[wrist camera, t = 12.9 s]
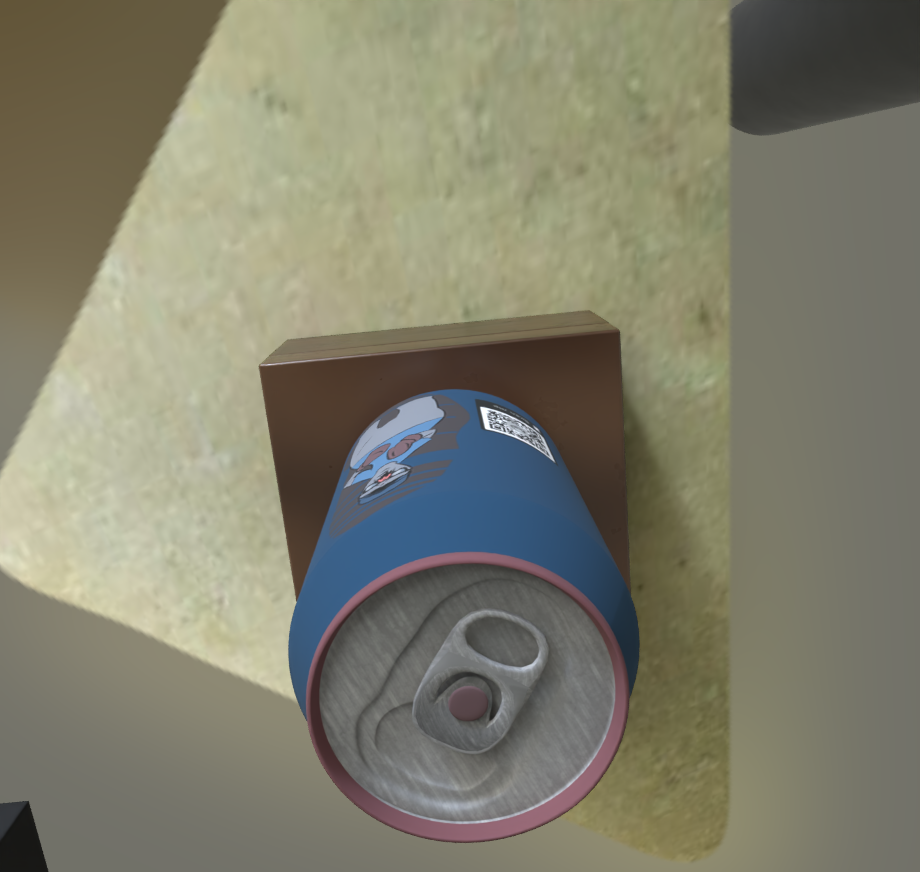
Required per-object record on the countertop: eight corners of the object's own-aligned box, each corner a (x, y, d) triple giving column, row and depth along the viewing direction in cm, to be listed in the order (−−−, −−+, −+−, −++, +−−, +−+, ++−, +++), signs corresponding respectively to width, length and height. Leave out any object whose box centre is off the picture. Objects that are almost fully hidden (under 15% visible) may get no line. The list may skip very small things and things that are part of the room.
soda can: (498, 621, 27) (544, 923, 16) (306, 532, 26) (206, 786, 15) (602, 442, 26) (739, 630, 14) (404, 340, 25) (378, 454, 13)
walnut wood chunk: (286, 339, 30) (257, 364, 25) (590, 310, 30) (620, 329, 25) (320, 569, 32) (300, 632, 27) (602, 541, 32) (631, 599, 27)
